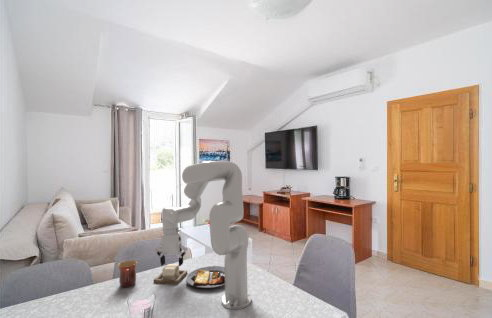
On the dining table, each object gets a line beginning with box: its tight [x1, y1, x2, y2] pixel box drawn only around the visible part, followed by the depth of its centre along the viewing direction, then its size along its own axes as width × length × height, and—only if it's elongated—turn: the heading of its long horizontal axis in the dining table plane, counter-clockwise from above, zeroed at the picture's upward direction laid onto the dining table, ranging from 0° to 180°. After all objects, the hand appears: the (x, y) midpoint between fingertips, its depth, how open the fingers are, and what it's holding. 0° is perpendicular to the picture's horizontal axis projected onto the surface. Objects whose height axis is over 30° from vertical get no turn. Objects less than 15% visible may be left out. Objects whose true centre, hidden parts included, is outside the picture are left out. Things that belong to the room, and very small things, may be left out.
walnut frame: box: [153, 269, 188, 285], centre depth 132 cm, size 12×12×2 cm
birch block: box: [162, 263, 180, 280], centre depth 132 cm, size 6×6×6 cm
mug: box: [117, 259, 138, 288], centre depth 124 cm, size 12×9×10 cm
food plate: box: [185, 265, 225, 289], centre depth 129 cm, size 25×23×4 cm
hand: (171, 264), depth 131 cm, fingers open, 9 cm apart
